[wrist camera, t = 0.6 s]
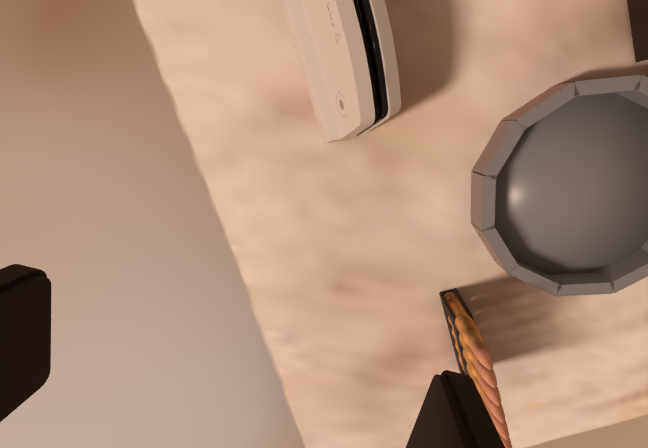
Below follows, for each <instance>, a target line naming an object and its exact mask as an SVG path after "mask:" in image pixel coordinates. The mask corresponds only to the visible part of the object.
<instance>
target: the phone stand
mask: <svg viewBox="0 0 648 448" xmlns="http://www.w3.org/2000/svg"><path fill="white" fill-rule="evenodd" d="M627 2H628V9H629V17H630V24H631V31H632V38H633V46H634V53H635V60H636V62H639V61H643V60H647V59H648V0H627Z"/></svg>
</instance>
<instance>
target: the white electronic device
mask: <svg viewBox="0 0 648 448" xmlns="http://www.w3.org/2000/svg"><path fill="white" fill-rule="evenodd" d="M280 2H281V5H282V9H283V12H284V15H285V18H286V21H287V25H288V28H289V31H290V34H291V38H292V41H293V44H294V47H295V50H296V54H297V57H298V60H299V63H300V67H301V70H302V73H303V76H304V79H305V83H306V86H307V89H308V92H309V96H310V99H311V102H312V105H313V108H314V112H315V115H316V118H317V121H318V125H319V128H320V131H321V134H322V137H323V141H324V143H329V142H334V141H342V140H349V139H352V138H353V137H355V136H356V135H358V134H359V133H361V132H362V135H364V134H365V133H367V132H369V131H370V130H372V129H374V128H375V127H377V126H378V125H380V124H381V123H383V122H384V121H386V120H388V119H389V118H391V117H392V116H394V115H395V114H397V113H398V112H399V111H400V109H401V95H400V83H399V74H398V66H397V59H396V53H395V46H394V40H393V35H392V30H391V26H390V21H389V16H388V12H387V7H386V3H385V0H280Z"/></svg>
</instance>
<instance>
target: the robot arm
mask: <svg viewBox="0 0 648 448" xmlns="http://www.w3.org/2000/svg"><path fill="white" fill-rule="evenodd" d="M50 344H51V281H50V280H49V279H48V278H47V275H46V274H45V272H44V271H42V270H40V269H36V268H31V267H27V266H23V265H19V264H14V265H10V266H8V267H5V268H3V269H0V422H1V421H2V420H3V419H4V418H6V417H7V416H8V415H9V414H10V413H11V412H12V411H14V410H15V409H16V408H17V407H18V406H20V405H21V404H22V403H23V402H24V401H25V400H26V399H28V398H29V397H30V396H31V395H33V394H34V393H35V392H36V391H37V390H38V389H40V388H41V387H42V386H43V385H44V383H45V382H46V380H47V379H48V377H49V374H50V358H51V357H50V356H51V355H50V354H51V352H50V351H51V347H50V346H51V345H50ZM406 448H505V446H504V444H503V442H502V440H501V438H500V435H499V433H498V431H497V429H496V427H495V425H494V423H493V421H492V419H491V417H490V414H489V412H488V410H487V408H486V406H485V404H484V402H483V400H482V398H481V396H480V393H479V391H478V389H477V387H476V385H475V383H474V381H473V379H472V378H471V377H470V376H468V375H464V374H460V373H456V372H452V371H448V370H445V371H443V373H442V374H441V375H435V376H434V377H433V379H432V382H431V384H430V387H429V389H428V392H427V395H426V397H425V400H424V402H423V405H422V407H421V410H420V413H419V415H418V418H417V420H416V423H415V425H414V428H413V431H412V433H411V436H410V438H409V441H408V443H407V446H406Z"/></svg>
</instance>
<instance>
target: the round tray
mask: <svg viewBox="0 0 648 448" xmlns="http://www.w3.org/2000/svg"><path fill="white" fill-rule="evenodd" d="M472 171H474V172H472V184H471V222H472V223H471V224H472V225H473V227H474V228H475V230H476V232H477V233H478V235H479V236H480V238H481V239H482V241H483V243H484V244H485V246H486V247H487V249H488V250H489V252H490V254H491V255H492V257H493V258H494V260H495V262H496V263H497V264H498V265H499V266H501V267H502V268H503V269H504V270H505V271H506V272H507V273H508V274H509V275H511V276H514V277H516V278H518V279H520V280H522V281H524V282H526V283H529V284H531V285H533V286H535V287H537V288H539V289H541V290H544V291H546V292H548V293H550V294H552V295H554V296H572V295H592V294H612V293H613V292H614V293H616V292H618V291H619V290H621V289H623V288H625V287H627V286H629V285H631V284H633V283H635V282H637V281H639V280H641V279H643V278H645V277H647V276H648V77H647V76H645V75H631V76H621V77H612V78H602V79H592V80H583V81H574V82H569V83H564V84H559V85H555V86H553V87H551V88H550V89H548V90H546V91H545V92H543V93H542V94H540V95H539V96H537V97H536V98H534V99H533V100H531V101H530V102H528V103H527V104H525V105H524V106H522V107H521V108H519V109H518V110H516V111H515V112H513V113H512V114H510V115H509V116H507V117H505V118H504V119H502V121H501V122H500V123H499V125H498V127H497V128H496V130H495V132H494V134H493V135H492V137H491V139H490V140H489V142H488V144H487V146H486V147H485V149H484V151H483V153H482V154H481V156H480V158H479V159H478V161H477V163H476V165H475V166H474V168H473V170H472Z"/></svg>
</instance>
